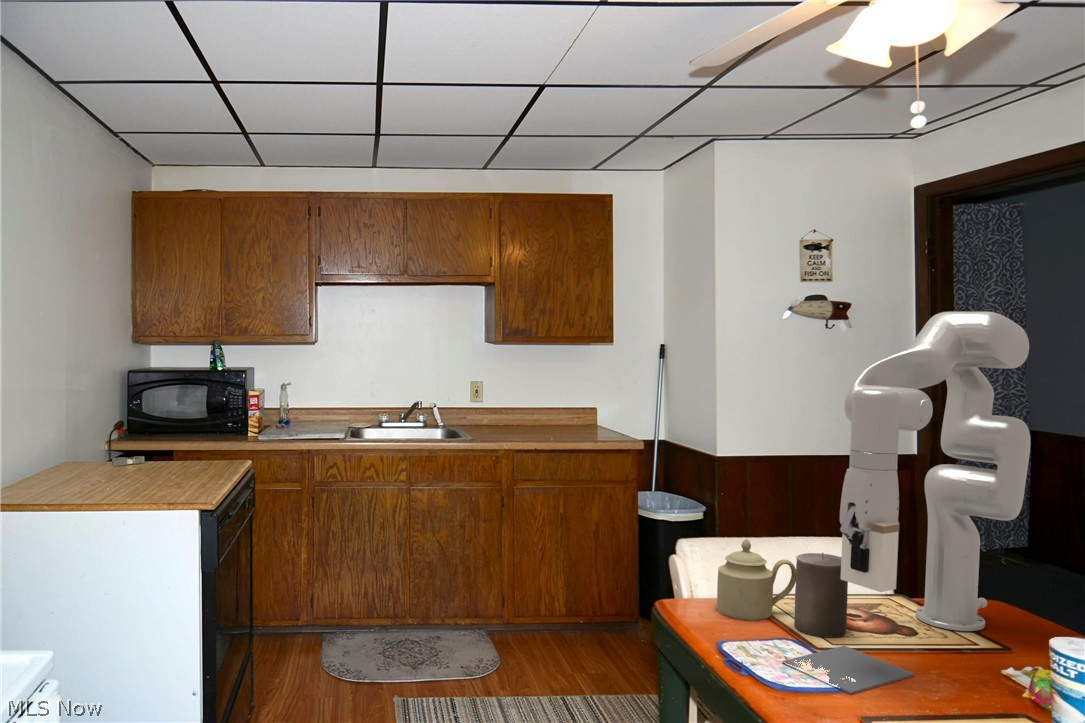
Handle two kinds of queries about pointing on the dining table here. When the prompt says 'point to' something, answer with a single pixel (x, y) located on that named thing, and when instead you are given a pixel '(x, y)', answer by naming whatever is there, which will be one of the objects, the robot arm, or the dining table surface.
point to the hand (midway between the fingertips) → (868, 567)
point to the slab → (874, 558)
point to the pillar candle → (820, 595)
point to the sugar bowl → (749, 585)
